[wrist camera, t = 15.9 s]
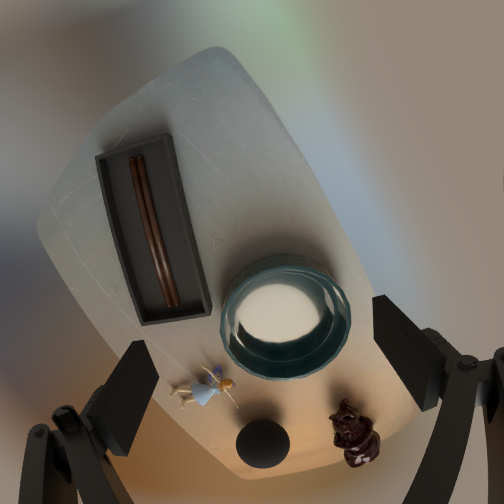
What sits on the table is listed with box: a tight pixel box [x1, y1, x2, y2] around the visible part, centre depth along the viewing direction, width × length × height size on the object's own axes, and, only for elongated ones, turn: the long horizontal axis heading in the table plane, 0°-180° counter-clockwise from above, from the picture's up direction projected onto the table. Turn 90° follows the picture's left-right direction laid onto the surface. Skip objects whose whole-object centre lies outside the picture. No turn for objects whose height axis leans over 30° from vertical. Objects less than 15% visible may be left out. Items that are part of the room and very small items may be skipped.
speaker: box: [236, 420, 290, 469], centre depth 48 cm, size 10×10×10 cm
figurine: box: [329, 398, 380, 468], centre depth 49 cm, size 10×10×18 cm
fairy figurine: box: [170, 363, 239, 409], centre depth 48 cm, size 12×5×12 cm
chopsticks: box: [129, 155, 180, 308], centre depth 42 cm, size 23×2×1 cm, turn 12°
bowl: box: [220, 255, 351, 381], centre depth 43 cm, size 18×18×6 cm
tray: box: [95, 133, 213, 326], centre depth 41 cm, size 11×26×3 cm, turn 12°
